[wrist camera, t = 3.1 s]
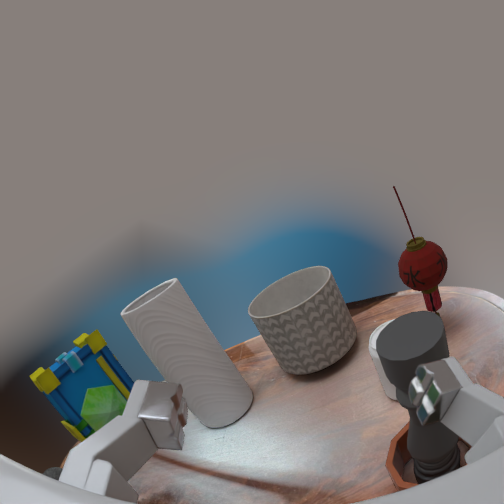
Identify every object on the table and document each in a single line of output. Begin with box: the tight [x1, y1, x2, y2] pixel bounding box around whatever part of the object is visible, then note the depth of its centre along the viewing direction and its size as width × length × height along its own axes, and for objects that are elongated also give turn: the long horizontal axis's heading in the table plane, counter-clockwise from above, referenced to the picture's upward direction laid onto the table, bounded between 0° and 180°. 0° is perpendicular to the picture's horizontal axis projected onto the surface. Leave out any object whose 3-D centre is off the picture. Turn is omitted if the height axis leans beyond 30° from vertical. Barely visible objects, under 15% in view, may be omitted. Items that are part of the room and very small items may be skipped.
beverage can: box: [369, 319, 397, 400], centre depth 41 cm, size 8×8×12 cm
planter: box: [248, 266, 357, 375], centre depth 63 cm, size 19×19×18 cm
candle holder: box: [376, 311, 460, 484], centre depth 22 cm, size 6×6×25 cm
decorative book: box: [30, 330, 134, 442], centre depth 59 cm, size 14×23×30 cm, turn 152°
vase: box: [121, 278, 253, 428], centre depth 60 cm, size 14×14×32 cm
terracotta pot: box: [385, 421, 472, 491], centre depth 24 cm, size 12×12×7 cm
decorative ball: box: [43, 467, 63, 480], centre depth 43 cm, size 10×10×10 cm
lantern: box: [393, 186, 447, 317], centre depth 46 cm, size 10×10×30 cm
